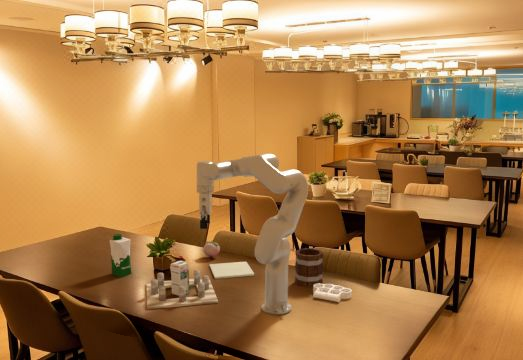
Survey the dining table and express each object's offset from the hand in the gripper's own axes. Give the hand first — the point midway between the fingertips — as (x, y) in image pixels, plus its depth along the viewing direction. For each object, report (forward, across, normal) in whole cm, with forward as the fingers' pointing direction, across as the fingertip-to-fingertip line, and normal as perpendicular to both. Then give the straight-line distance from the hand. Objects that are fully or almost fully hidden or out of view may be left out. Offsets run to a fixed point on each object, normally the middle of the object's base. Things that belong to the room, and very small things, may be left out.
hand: (205, 225), depth 225 cm
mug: (+30, +14, -50) cm, 60 cm away
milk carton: (+32, +22, +45) cm, 59 cm away
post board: (+31, -4, +11) cm, 33 cm away
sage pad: (+31, +27, -10) cm, 43 cm away
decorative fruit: (+32, +49, +2) cm, 58 cm away
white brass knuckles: (+30, -5, -58) cm, 65 cm away
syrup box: (+31, -4, +11) cm, 33 cm away
